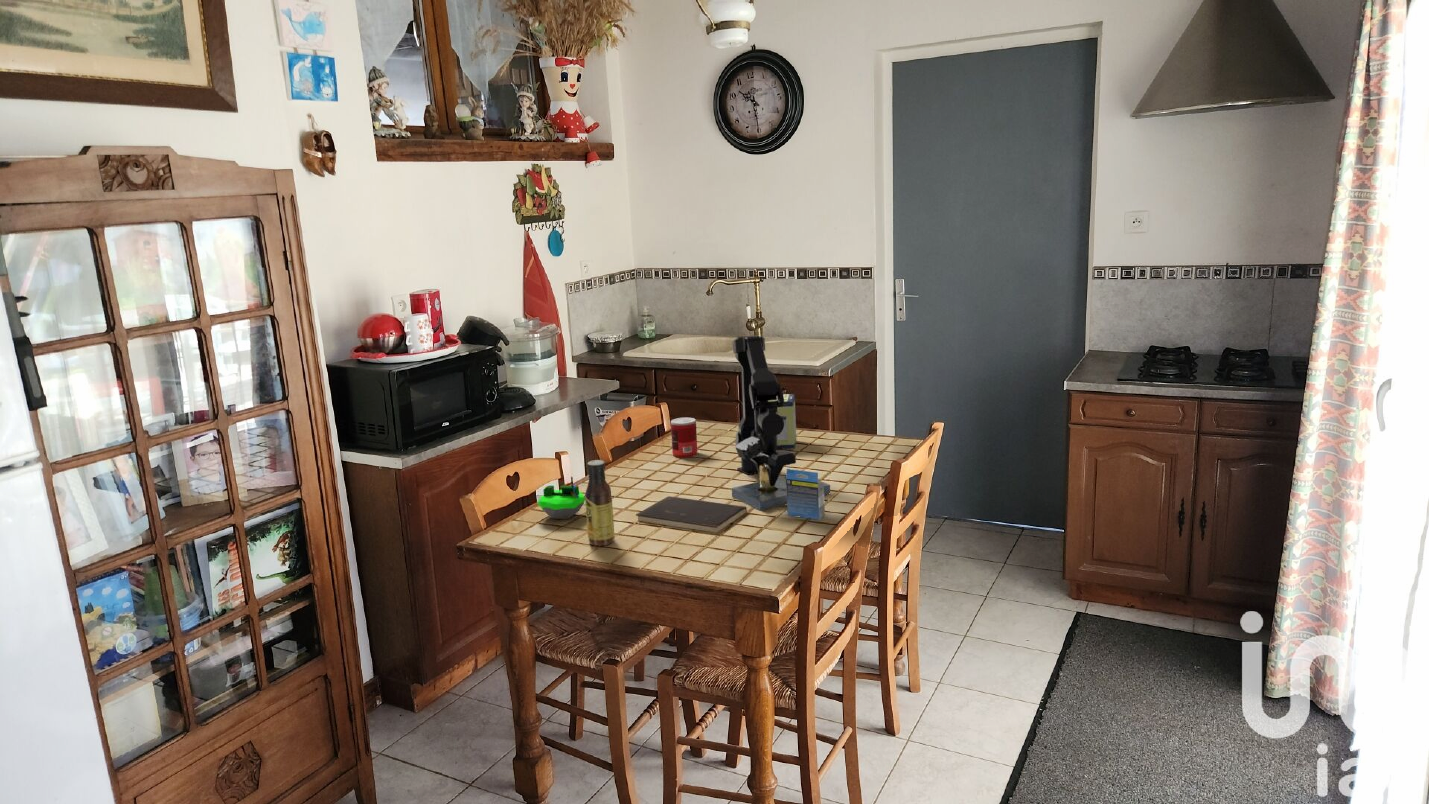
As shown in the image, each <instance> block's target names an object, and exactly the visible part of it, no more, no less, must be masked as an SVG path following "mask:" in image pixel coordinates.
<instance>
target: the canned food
mask: <svg viewBox="0 0 1429 804" xmlns="http://www.w3.org/2000/svg"><path fill="white" fill-rule="evenodd" d="M670 433H671V451H672V452H671V453H672V454H673V456H674V457H676V458H683V459H684V458H691V457H692V458H693V457H695V456H696V455H697V454H698V433H697V420H696V419H695V418H694V417H686V416H685V417H677V418H674V419H672V420H670Z"/></svg>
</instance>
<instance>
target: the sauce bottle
mask: <svg viewBox="0 0 1429 804" xmlns="http://www.w3.org/2000/svg"><path fill="white" fill-rule="evenodd" d="M605 462H606V461H604V460H601V459H595V460H590V461H589V462H587V466H586V467H587V470H588V482H587V486H586V490H585V493H584V497H585V502H584V503H585V514H586V516H585V517H586V529H587V538H588V542H589V543H590V544H591V545H592V546H598V547H599V546H608V545H610V544H612V543H613V542H614V540H615V524H614V523H615V522H614V521H615V520H614V512H613V510H614V509H613V508H614V507H613V499H612V491H611V487H610V485H609V484H608V482H607V480H606V473H605V469H606V466H605V465H606V463H605Z"/></svg>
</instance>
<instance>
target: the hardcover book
mask: <svg viewBox="0 0 1429 804" xmlns="http://www.w3.org/2000/svg"><path fill="white" fill-rule="evenodd" d="M744 514H747V506H745V505H744V506H742V505H736V504H728V503H723V502H715V501H707V500H700V499H691V498H685V497H678V496H677V497H676V496H670V495H668V496H666V497H664V498H663V499H661V500H659V501H657V502H655V503H654V504H652V505H651V506H648V507H647V508H645V509H643V510H641V511H639V512H638V513H636V514H635V516H636V517H637V521H638V522H644V523H645V522H646V523H650V524H651V523H653V524H657V525H663V526H671V527H678V528H683V529H689V530H697V531H704V532H709V533H710V532H711V533H718V532H720V530H722V529H724V528H726V527H727V526H729V524H731V523H733V522H734V521H736V520H737V519H738V518H740V517H741V516H743V515H744Z"/></svg>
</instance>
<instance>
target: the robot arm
mask: <svg viewBox="0 0 1429 804" xmlns="http://www.w3.org/2000/svg"><path fill="white" fill-rule="evenodd" d="M765 339H766V338H765V337H762V336H760V335H744V336H736V339H734V340H732V351H733V354H734V356H735V357H734V358H735V359H736V361H737V362H738V364H739V365H740V367H741V389H742V391H741V393H742V412H743V416H742V418H741V420H740V422H739V424H738V428H737V429H738V431H737V432H736V435H735V442H734V443H735V444H734V446H735V450H736V453H737V454H738V455H737V456H738V457H739V458H741V467H737V468H736V470H737V471H739V472H741V473H743V474H745V475H753V474H757V473H758V475H759V477H760V469H759V465H760V464H764V465H765V466H766V467H767V468H768V474H769V481H770V486H774V485H775V483H776V481H777V479H778V478H779V477H780V474H781V472H782V471H783V468H784V466H785V467H786V466H790V465H795V464H796V463H797V456H796V454H795V453H794V452H792V451H789V450H788V449H781V445H778V444H777V435H778V434H780V433H781V432H782V430H783V428H784V421H783V419H782V417H781V416H780V415H779V414H778V411H777V407H783V403H784V396H783V394H784V392H783V388H782V386H781V383H780V382H778V380H777V378H776V375H775V373H773V372H772V371H770V370H769V366H768V363H767V359H766V354H765V352H766V341H765ZM777 397H778V401H779V403H778V401H772V400H776V399H777Z"/></svg>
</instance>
